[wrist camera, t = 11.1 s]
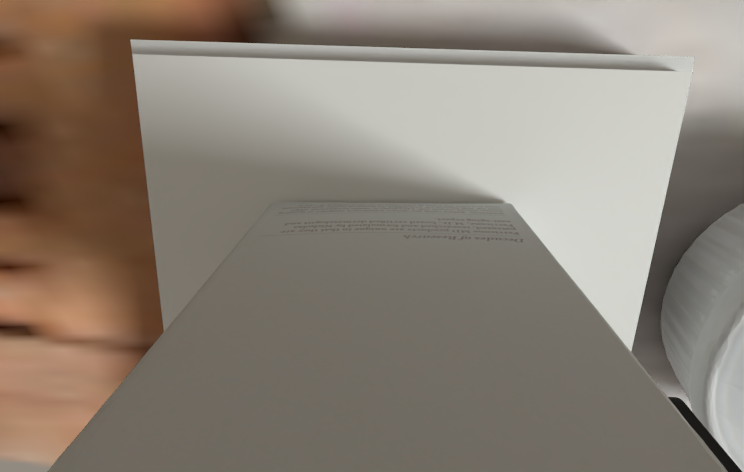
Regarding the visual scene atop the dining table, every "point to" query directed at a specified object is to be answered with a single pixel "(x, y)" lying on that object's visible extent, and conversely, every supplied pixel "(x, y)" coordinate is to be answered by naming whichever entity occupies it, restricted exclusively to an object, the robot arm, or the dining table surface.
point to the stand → (410, 147)
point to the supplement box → (389, 358)
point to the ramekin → (711, 329)
